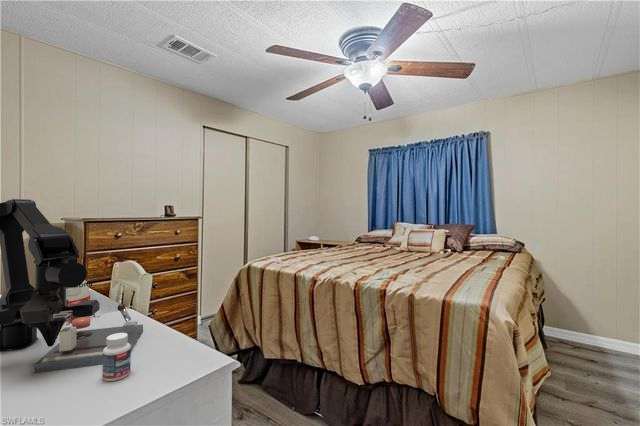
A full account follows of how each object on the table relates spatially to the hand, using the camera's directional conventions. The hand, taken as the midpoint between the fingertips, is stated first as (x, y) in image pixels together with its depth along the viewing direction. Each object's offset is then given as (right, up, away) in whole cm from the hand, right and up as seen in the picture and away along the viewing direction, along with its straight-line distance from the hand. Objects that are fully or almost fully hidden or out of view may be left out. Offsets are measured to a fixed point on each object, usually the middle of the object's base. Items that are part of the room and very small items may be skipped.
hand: (51, 346), depth 75 cm
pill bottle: (+21, -4, -7) cm, 22 cm away
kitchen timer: (-36, -3, +49) cm, 61 cm away
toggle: (+10, +1, +14) cm, 18 cm away
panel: (+6, -4, +7) cm, 10 cm away
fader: (+3, -1, +1) cm, 4 cm away
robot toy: (-18, -4, +30) cm, 36 cm away
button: (-1, +1, +10) cm, 10 cm away
